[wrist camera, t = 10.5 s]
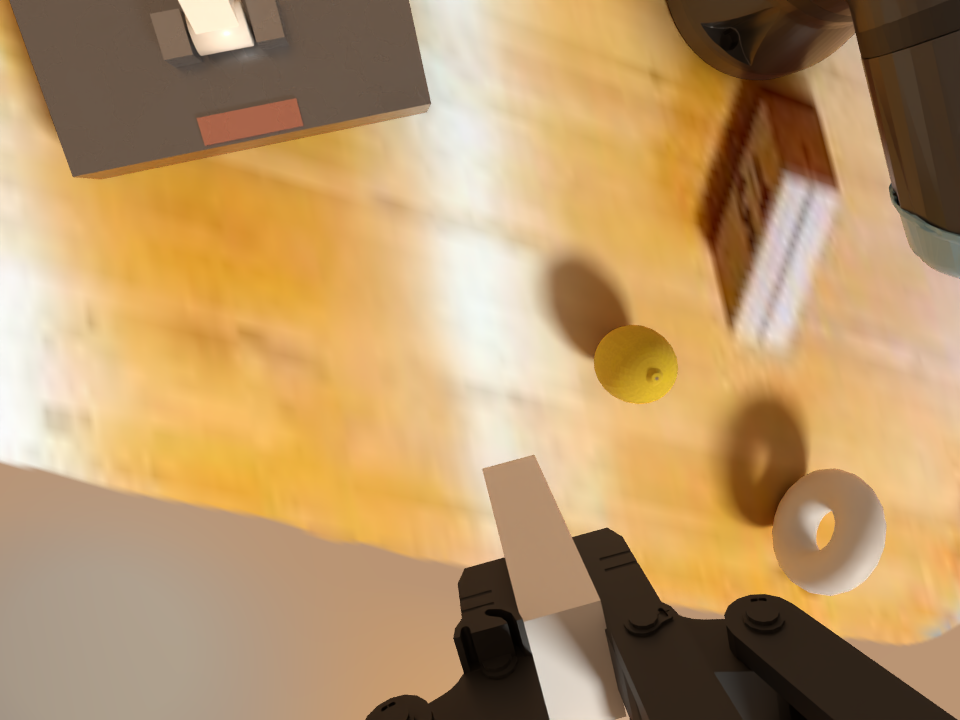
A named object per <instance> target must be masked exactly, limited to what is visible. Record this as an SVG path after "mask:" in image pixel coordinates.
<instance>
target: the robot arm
mask: <svg viewBox="0 0 960 720" xmlns="http://www.w3.org/2000/svg"><path fill="white" fill-rule="evenodd" d="M667 2H668V5H669V8H670V11H671V14H672V17H673V19H674V21H675V24H676V26H677V28H678V30H679V31H680V33H681V35H682V36H683V38H684V39H685V41H686V42H687V44H688V45H689V46H690V47H691V48H692V50H693V51H694V52H695V53H696V54H697V55H698V56H699V57H700V58H701V59H703V60H704V61H705V62H706V63H708V64H709V65H711V66H712V67H714V68H715V69H717V70H719V71H721V72H723V73H725V74H728V75H731V76H734V77H737V78H742V79H749V80H767V79H773V78H778V77H782V76H785V75H788V74H791V73H794V72H797V71H800V70H803V69H806V68H808V67H811V66H813V65H815V64H816V63H818V62H820V61H822V60H823V59H825V58H826V57H828V56H830V55H831V54H832V53H834V52H835V51H836V50H837V49H839V48H840V47H841V46H842V45H843V44H844V43H845V42H846V41H847V40H848V39H849V38H850V37H851V36H853V35H854V34H855V33H856V36H857V41H858V45H859V49H860V53H861V60H862V64H863V68H864V72H865V76H866V80H867V84H868V89H869V93H870V97H871V101H872V105H873V109H874V113H875V117H876V121H877V126H878V130H879V134H880V138H881V142H882V146H883V150H884V154H885V159H886V163H887V167H888V171H889V175H890V179H891V184H890V186H889V192H890V197H891V201H892V203H893V205H894V206H895V208H896V209H897V211H898V212H899V214H900V217H901V220H902V223H903V227H904V230H905V233H906V237H907V240H908V243H909V245H910V247H911V249H912V250H913V252H914V253H915V254H916V255H917V256H919V257H920V258H921V259H922V261H923V262H925V263H926V264H927V265H928V266H930V267H931V268H933V269H935V270H937V271H939V272H941V273H944V274H946V275H949V276H952V277H955V278H959V279H960V0H667ZM483 473H484V477H485V481H486V485H487V489H488V493H489V497H490V501H491V505H492V509H493V513H494V517H495V520H496V524H497V528H498V532H499V536H500V540H501V544H502V548H503V552H504V556H505V558H501V559H497V560H494V561H490V562H487V563H483V564H479V565H476V566H472V567H468V568H465V569H464V571H463V574H462V576H461V578H460V580H459V582H458V589H459V598H460V606H461V613H462V619H461V621H460V622H459V624H458V625H457V627H456V628H455V633H454V638H453V639H454V642H455V645H456V649H457V651H458V655H459V658H460V662H461V665H462V668H463V671H464V674H463V675H462V677H461V678H460V680H459V682H458V683H457V684H456V685H455V686H454V687H453V688H452V689H451V690H449V691H448V692H447V693H445V694H444V695H442V696H441V697H439V698H437V699H435V700H434V701H432V702H430V703H429V704H428V703H427V701H425V700H424V699H422V698H420V697H418V696H415V695H402V696H397V697H393V698H390V699H389V700H387V701H385V702H383V703H382V704H380V705H378V706H377V707H376V708H375V709H374V710H373V711H372V712H371V713H370V714H369V715H368V716H367V718H366V720H615V719H618V718H622V717H625V716H626V713H625V708H624V705H625V707H626V710H627V712H628V715H629V717H630V720H957V719H955V718H954V717H953V716H951V715H950V714H949V713H947V712H946V711H944V710H943V709H941V708H940V707H938V706H937V705H936V704H934V703H933V702H932V701H930V700H929V699H927V698H926V697H924V696H923V695H922V694H920V693H919V692H917V691H916V690H914V689H913V688H912V687H910V686H909V685H907V684H906V683H904V682H903V681H902V680H900V679H899V678H897V677H896V676H895V675H893V674H892V673H890V672H889V671H887V670H886V669H885V668H883V667H882V666H880V665H879V664H878V663H876V662H875V661H873V660H872V659H870V658H869V657H867V656H866V655H865V654H863V653H862V652H860V651H859V650H858V649H856V648H855V647H853V646H852V645H851V644H849V643H848V642H846V641H845V640H843V639H842V638H841V637H839V636H838V635H836V634H835V633H833V632H832V631H831V630H829V629H828V628H826V627H825V626H824V625H822V624H821V623H819V622H818V621H816V620H815V619H814V618H812V617H811V616H809V615H808V614H806V613H805V612H804V611H802V610H801V609H799V608H798V607H797V606H795V605H794V604H792V603H790V602H788V601H786V600H784V599H782V598H780V597H776V596H771V595H766V594H759V595H748V596H745V597H742V598H739V599H737V600H736V601H734V602H733V603H732V604H730V605H729V606H728V608H727V610H726V612H725V615H724V616H725V619H714V620H713V619H712V620H701V619H691V618H686V617H682V616H680V615H678V613H677V612H676V611H675V610H674V609H673V608H672V607H671V606H669V605H667V604H665V603H662V602H661V601H660V599H659V597H658V595H657V594H656V592H655V590H654V589H653V587H652V585H651V584H650V582H649V580H648V579H647V577H646V575H645V574H644V572H643V570H642V569H641V567H640V565H639V564H638V563H637V560H636V559H635V557H634V555H633V554H632V552H631V551H630V549H629V547H628V545H627V544H626V542H625V540H624V539H623V537H622V536H620V535H619V534H617V533H615V532H614V531H612V530H610V529H609V528H604V529H601V530H597V531H593V532H590V533H586V534H582V535H579V536H575V537H571V534H570V532H569V530H568V528H567V526H566V523H565V521H564V519H563V517H562V515H561V512H560V510H559V508H558V506H557V504H556V501H555V499H554V497H553V495H552V493H551V490H550V488H549V486H548V484H547V482H546V480H545V477H544V475H543V473H542V471H541V469H540V466H539V464H538V462H537V460H536V458H535V455H532V456H528V457H524V458H521V459H517V460H513V461H509V462H506V463H502V464H498V465H495V466H491V467H487V468H484V469H483ZM623 703H624V704H623Z"/></svg>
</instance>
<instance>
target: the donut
mask: <svg viewBox="0 0 960 720" xmlns="http://www.w3.org/2000/svg"><path fill="white" fill-rule="evenodd" d="M830 511H832V512H833V514H834V518H835V528H834V533H833V535H832V538H831V540H830V542H829V543H828V544H827V546H825V547H824V548H823V549H822V550H819V548H818V546H817V542H816V534H817V529H818V526H819V523H820V521H821V520H822V518H823V517H824V516H825V515H826V514H827V513H828V512H830ZM885 536H886V521H885V516H884V511H883V507H882V505H881V503H880V501H879V499H878V498H877V496H876V494H875V492H874V491H873V489H872V488H871V487H870V486H869V485H867V484H866V483H865V482H864V481H863V480H862V479H861V478H859V477H858V476H856V475H854V474H851V473H848V472H845V471H843V470H839V469H824V470H817V471H814V472H812V473H809V474H807V475H805V476H803V477H801V478H800V479H799V480H798V481H797V482H796V483H795V484H793V485H792V486H791V487H790V488H789V489H788V490H787V492H786V493H785V495H784V496H783V498H782V499H781V501H780V503H779V506H778V508H777V511H776V513H775V516H774V523H773V529H772V537H773V548H774V552H775V555H776V558H777V560H778V563H779V566H780V567H781V568H782V570H783V571H784V572H785V574H786V575H787V576H788V578H789V579H790V580H791V581H792V582H793V583H795V584H796V585H798V586H799V587H801V588H803V589H804V590H806V591H808V592H810V593H816V594H822V595H829V596H832V595H836V594H840V593H844V592H848V591H851V590H852V589H854V588H855V587H857V586H858V585H860V584H861V583H863V582H864V581H865V580H866V579H867V578H868V577H869V575H870V574H871V573H872V571H873V570H874V569H875V567H876V566H877V565H878V562H879V559H880V557H881V554H882V551H883V549H884V546H885Z"/></svg>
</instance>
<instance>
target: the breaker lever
mask: <svg viewBox="0 0 960 720" xmlns="http://www.w3.org/2000/svg"><path fill="white" fill-rule="evenodd" d="M178 1H179V3H180V5H181V7H182V9H183V11H184V13H185V19H186V23H187V26H188V30H189V33H190V36H191V38H192V41H193V43H194V46H195V48H196V50H197V51H198V53H199V54H200V55H201V56H204V55H209V54H215V53H220V52H225V51H230V50H235V49H241V48H246V47H251V46H254V39H253V35H252V31H251V27H250V23H249V20H248V17H247V14H246V11H245V9H244V6H243V4H242V2H241V0H178Z"/></svg>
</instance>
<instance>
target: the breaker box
mask: <svg viewBox="0 0 960 720" xmlns="http://www.w3.org/2000/svg"><path fill="white" fill-rule="evenodd" d="M9 1H10V4H11V6H12V9H13V12H14V15H15V17H16V20H17V23H18V26H19V29H20V31H21V34H22V37H23V40H24V42H25V45H26V48H27V51H28V54H29V56H30V59H31V62H32V65H33V67H34V70H35V73H36V76H37V79H38V81H39V84H40V87H41V90H42V92H43V95H44V98H45V101H46V103H47V106H48V109H49V112H50V115H51V117H52V120H53V123H54V126H55V128H56V131H57V134H58V137H59V140H60V142H61V145H62V148H63V151H64V153H65V156H66V159H67V162H68V165H69V167H70V170H71V173H72V176H73V177H80V178H91V179H105V178H109V177H114V176H119V175H124V174H129V173H134V172H139V171H143V170H148V169H153V168H158V167H163V166H168V165H173V164H177V163H182V162H187V161H192V160H197V159H202V158H207V157H212V156H216V155H221V154H226V153H231V152H236V151H241V150H246V149H250V148H255V147H260V146H265V145H270V144H275V143H280V142H284V141H289V140H294V139H299V138H304V137H309V136H314V135H318V134H323V133H328V132H333V131H338V130H343V129H348V128H352V127H357V126H362V125H367V124H372V123H377V122H382V121H386V120H391V119H396V118H401V117H406V116H411V115H416V114H420V113H425V112H427V111H428V109H429V107H430V105H431V101H430V97H429V92H428V87H427V83H426V78H425V74H424V69H423V64H422V60H421V55H420V50H419V46H418V41H417V36H416V32H415V27H414V22H413V18H412V13H411V8H410V4H409V0H241V2H242V4H243V6H244V9H245V11H246V14H247V17H248V20H249V23H250V27H251V31H252V35H253V39H254V46H251V47H246V48H241V49H235V50H230V51H225V52H220V53H215V54H209V55H204V56H201V55H200V54H199V53H198V51H197V50H196V48H195V46H194V43H193V41H192V38H191V36H190V33H189V30H188V26H187V23H186V19H185V13H184V11H183V9H182V7H181V5H180V3H179V1H178V0H9Z"/></svg>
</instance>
